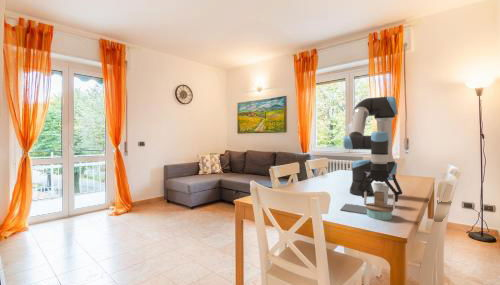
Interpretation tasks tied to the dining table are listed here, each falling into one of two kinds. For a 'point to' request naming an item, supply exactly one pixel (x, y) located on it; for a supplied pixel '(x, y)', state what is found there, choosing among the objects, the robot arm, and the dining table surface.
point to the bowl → (379, 215)
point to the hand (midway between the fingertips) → (379, 206)
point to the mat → (354, 209)
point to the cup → (382, 190)
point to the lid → (379, 203)
